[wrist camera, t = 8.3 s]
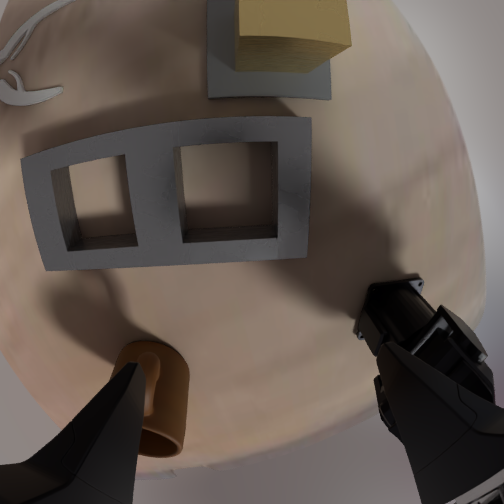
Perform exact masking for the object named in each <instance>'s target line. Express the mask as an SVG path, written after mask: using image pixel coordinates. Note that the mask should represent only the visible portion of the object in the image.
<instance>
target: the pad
mask: <svg viewBox="0 0 504 504" xmlns="http://www.w3.org/2000/svg"><path fill="white" fill-rule="evenodd" d="M234 7H235V0H207V82H208V99H214V98H232V97H289V98H307V99H320V100H331V72H330V59H329V60H328V61H326V62H324V63H323V64H321V65H320V66H318V67H317V68H315V69H314V70H312V71H311V72H309V73H308V74H303V73H288V72H235V36H234Z"/></svg>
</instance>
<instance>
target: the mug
mask: <svg viewBox="0 0 504 504" xmlns="http://www.w3.org/2000/svg"><path fill="white" fill-rule="evenodd" d="M127 362H139V363H140V365H141V367H142V370H143V372H144V374H145V377H146V390H145V405H144V418H143V425H142V431H141V437H140V443H139V450H138V455H142V456H148V457H156V458H167V457H173V456H176V455H178V454H180V453H181V451H182V449H183V442H184V436H185V429H186V416H187V404H188V390H189V379H190V374H189V368H188V365H187V363H186V361H185V360H184V359H183V357H182V356H181V355H180V354H179V353H177V352H176V351H175V350H173V349H171V348H169V347H167V346H165V345H163V344H160V343H156V342H151V341H138V342H133V343H131V344H129V345H127V346H126V347H124V348H123V349H122V351H121V352H120V354H119V356H118V359H117V361H116V364H115V367H114V370H113V372H112V375H111V377H110V380H111V379H112V378H113V377H114V376H115V375H116V374H117V373H118V372H119V370H120V369H121V368H122V367H123V366H124V365H125V364H126V363H127ZM110 380H109V381H110Z"/></svg>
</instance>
